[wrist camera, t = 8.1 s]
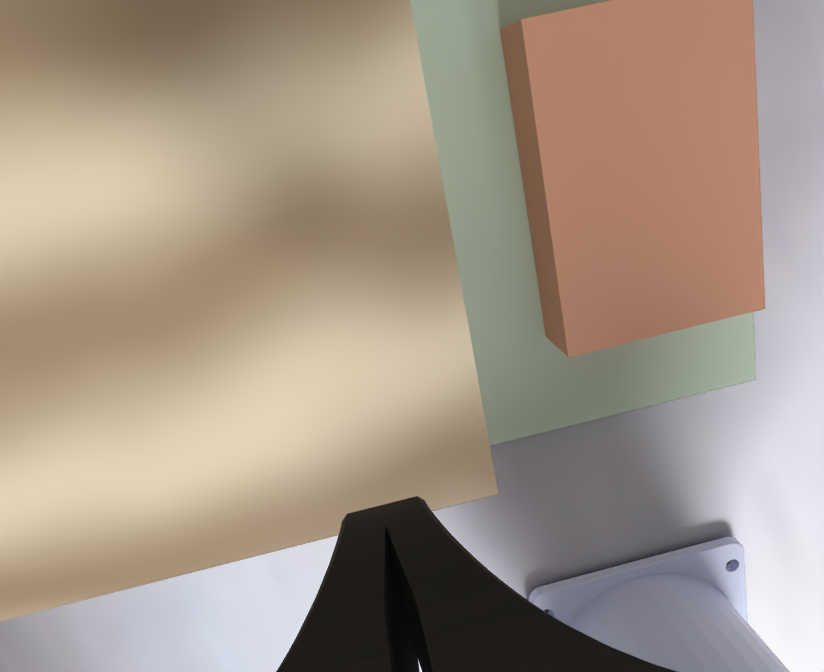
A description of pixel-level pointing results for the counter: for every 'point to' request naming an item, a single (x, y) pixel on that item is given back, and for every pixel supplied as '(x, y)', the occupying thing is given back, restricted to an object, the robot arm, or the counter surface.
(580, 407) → the mat
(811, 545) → the counter surface
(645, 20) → the tile
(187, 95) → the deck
